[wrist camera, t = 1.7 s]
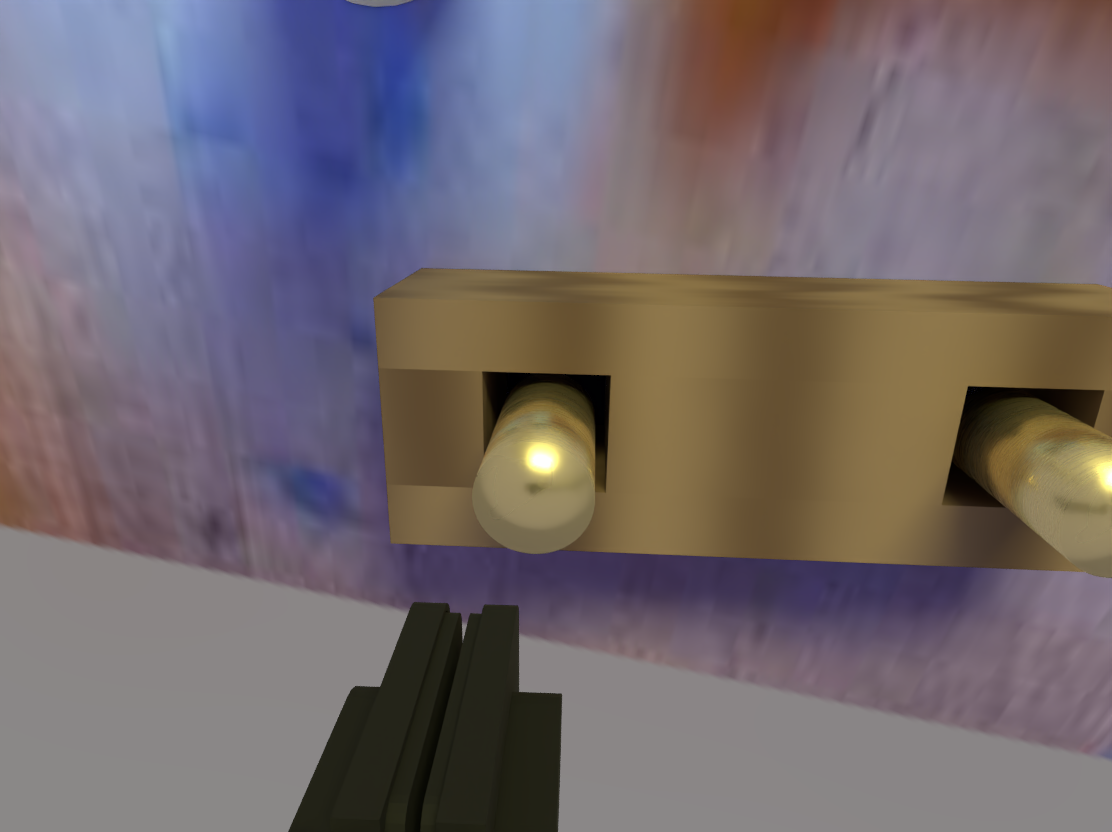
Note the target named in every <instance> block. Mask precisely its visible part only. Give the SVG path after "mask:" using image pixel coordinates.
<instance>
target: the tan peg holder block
mask: <svg viewBox="0 0 1112 832" xmlns="http://www.w3.org/2000/svg"><path fill="white" fill-rule="evenodd" d="M373 299H374V313H375V327H376V342H377V356H378V370H379V384H380V398H381V413H382V427H383V441H384V455H385V469H386V484H387V498H388V512H389V526H390V540H391V543H397V544H421V545H445V546H470V547H494V548H507V547H505V546H503V545H501V544H500V543H498V542H497V541H495V540H494V539H493V538H492V537H490V535H489V534H488V533H487V532H486V531H485V530H484V529H483V527H482V526H481V524H480V523H479V521H478V519H477V517H476V514H475V512H474V507H473V501H472V490H473V485H474V481H475V479H476V476H477V473H478V471H479V468H480V465H481V463H482V460H483V457H484V455H485V452H486V450H487V447H488V444H489V442H490V439H491V436H492V434H493V431H494V428H495V426H496V423H497V421H498V418H499V415H500V413H501V410H502V407H503V405H504V402H505V400H506V397H507V372H520V373H553V374H586V375H606V387H605V412H604V425H595V506H594V512H593V516H592V518H591V521H590V523H589V525H588V526H587V528H586V530H585V531H584V532H583V533H582V535H581V536H580V537H579V538H578V539H576V540H575V541H574V542H572V543H571V544H570V545H568V546H566V547H564V548H562V549H559V550H566V551H591V552H615V553H639V554H663V555H688V556H712V557H736V558H760V559H785V560H809V561H833V562H857V563H882V564H906V565H930V566H954V567H978V568H1003V569H1027V570H1051V571H1075V572H1084V571H1082V570H1080V569H1079V568H1078V567H1076V566H1075V565H1074V564H1072V563H1071V562H1070V561H1069V560H1068V559H1066V558H1065V557H1064V556H1063V555H1062V554H1061V553H1059V552H1058V551H1057V550H1056V549H1055V548H1053V547H1052V546H1051V545H1050V544H1049V543H1047V542H1046V541H1045V540H1044V539H1043V538H1042V537H1040V536H1039V535H1038V534H1037V533H1036V532H1034V531H1033V530H1032V529H1031V528H1030V527H1029V526H1027V525H1026V524H1025V523H1024V522H1023V521H1021V520H1020V519H1019V518H1018V517H1017V516H1016V515H1014V514H1013V513H1012V512H1011V511H1010V510H1008V509H1007V508H1006V507H1005V506H1004V505H1002V504H1001V503H1000V502H999V501H998V500H997V499H995V498H994V497H993V496H992V495H991V494H989V493H988V492H987V491H986V490H985V489H984V488H982V487H981V486H980V485H979V484H978V483H976V482H975V481H974V480H973V479H972V478H971V477H969V476H968V475H967V474H966V473H965V472H963V471H962V470H961V469H960V468H959V467H957V466H956V465H955V464H954V463H953V462H952V456H953V451H954V447H955V442H956V438H957V433H958V429H959V424H960V419H961V415H962V410H963V406H964V401H965V397H966V392H967V388H968V386H982V387H983V389H986V388H990V387H1015V388H1019V389H1021V390H1024V391H1025V392H1027V393H1029V394H1031V395H1033V396H1035V397H1037V398H1039V399H1040V400H1042V401H1044V402H1046V403H1048V404H1050V405H1052V406H1053V407H1055V408H1057V409H1059V410H1061V411H1063V412H1065V413H1067V414H1068V415H1070V416H1072V417H1074V418H1076V419H1078V420H1080V421H1081V422H1083V423H1085V424H1087V425H1089V426H1091V427H1093V428H1095V429H1096V430H1098V431H1100V432H1102V433H1104V434H1106V435H1108V436H1109V437H1111V438H1112V288H1110V287H1106V286H1102V285H1098V284H1058V283H1016V282H974V281H933V280H891V279H849V278H807V277H766V276H724V275H682V274H640V273H598V272H557V271H515V270H473V269H431V268H421V269H419V270H418V271H416V272H415V273H413V274H411V275H410V276H408V277H406V278H405V279H403V280H402V281H400V282H398V283H397V284H395V285H393V286H392V287H390V288H388V289H387V290H385V291H384V292H382V293H380V294H379V295H377V296H375V297H374V298H373Z"/></svg>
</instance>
